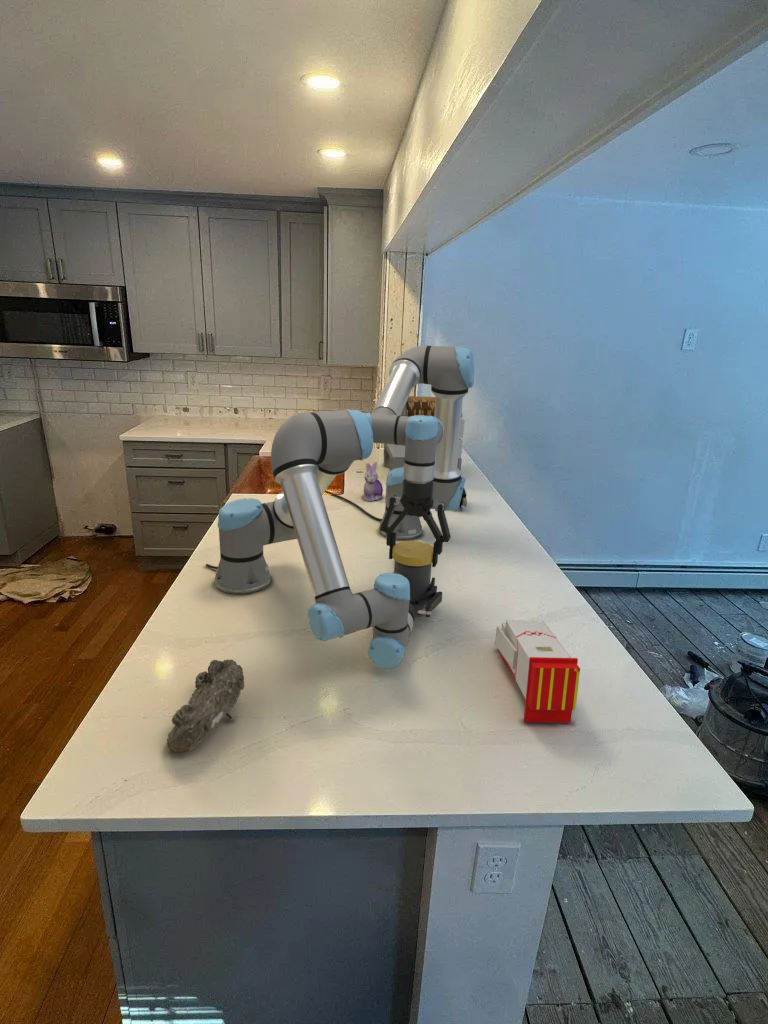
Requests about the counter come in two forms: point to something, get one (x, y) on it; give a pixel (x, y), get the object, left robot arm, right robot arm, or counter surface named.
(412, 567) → the jar
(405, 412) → the grey slatted crate
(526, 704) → the toy
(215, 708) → the fossil
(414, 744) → the counter surface
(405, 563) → the lid
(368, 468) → the figurine
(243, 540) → the left robot arm
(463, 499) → the figurine character
